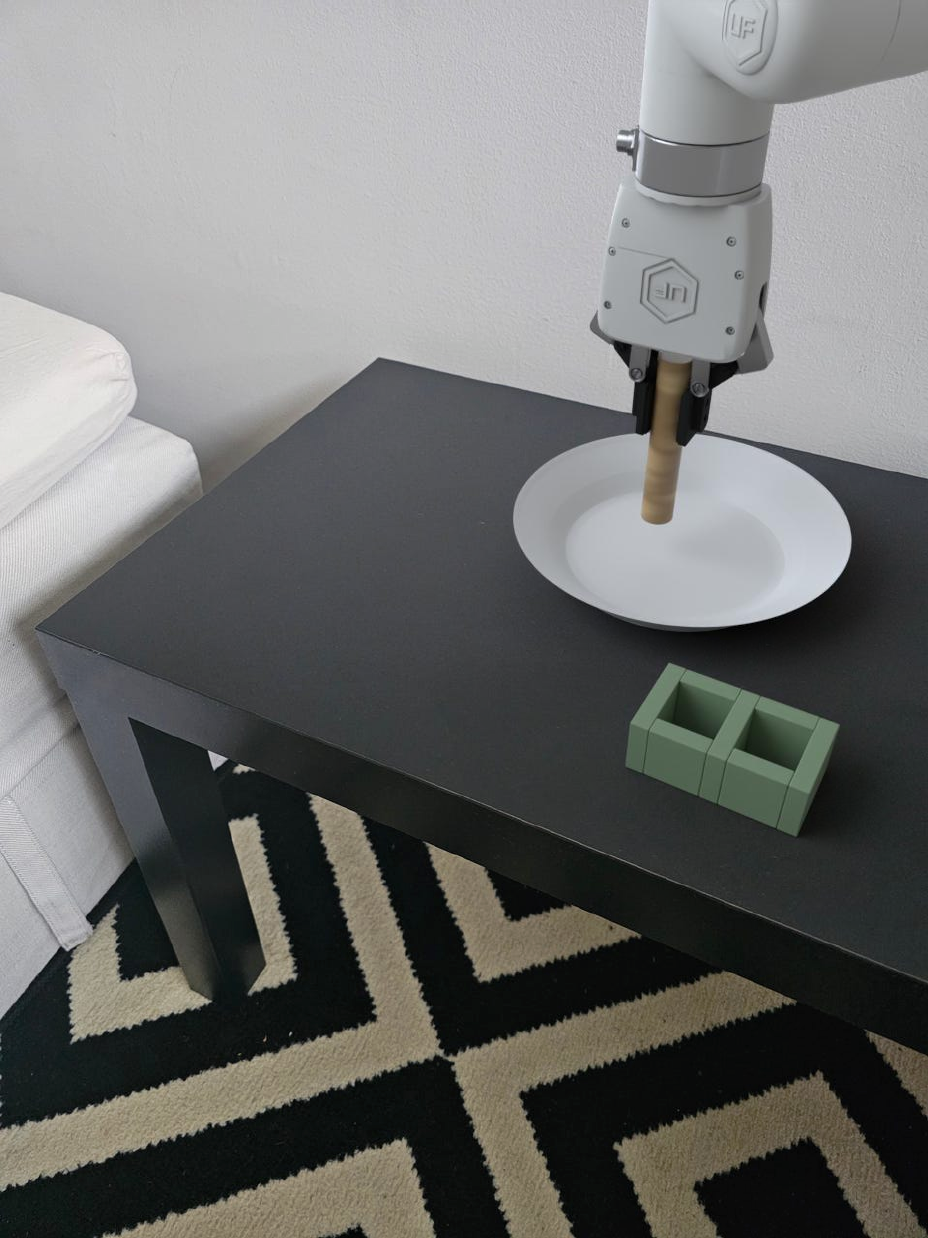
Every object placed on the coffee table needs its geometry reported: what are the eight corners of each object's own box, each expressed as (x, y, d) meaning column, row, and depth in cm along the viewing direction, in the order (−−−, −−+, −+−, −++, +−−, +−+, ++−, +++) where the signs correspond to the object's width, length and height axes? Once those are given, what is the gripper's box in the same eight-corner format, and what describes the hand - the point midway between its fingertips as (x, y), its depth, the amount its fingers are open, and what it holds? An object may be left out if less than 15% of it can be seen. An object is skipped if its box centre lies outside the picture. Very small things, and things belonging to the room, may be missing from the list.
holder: (826, 768, 62) (840, 724, 59) (796, 837, 58) (810, 793, 56) (662, 706, 66) (669, 662, 64) (625, 766, 63) (629, 722, 60)
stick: (677, 512, 77) (699, 352, 68) (665, 528, 75) (687, 366, 67) (647, 504, 78) (666, 345, 69) (635, 519, 76) (653, 359, 68)
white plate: (882, 523, 81) (893, 485, 78) (769, 716, 65) (779, 676, 63) (604, 440, 92) (607, 405, 89) (451, 589, 76) (449, 551, 74)
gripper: (550, 159, 60) (543, 428, 73) (817, 200, 54) (760, 487, 66) (603, 126, 65) (588, 383, 77) (854, 160, 59) (795, 435, 71)
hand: (668, 429), depth 72 cm, fingers closed on stick, 2 cm apart
